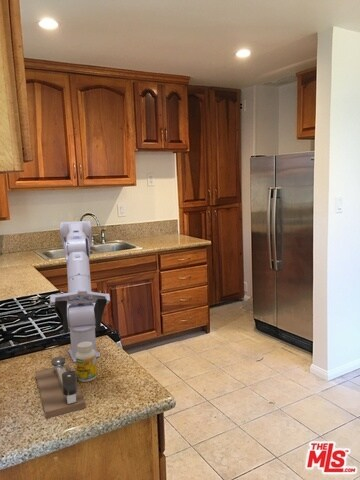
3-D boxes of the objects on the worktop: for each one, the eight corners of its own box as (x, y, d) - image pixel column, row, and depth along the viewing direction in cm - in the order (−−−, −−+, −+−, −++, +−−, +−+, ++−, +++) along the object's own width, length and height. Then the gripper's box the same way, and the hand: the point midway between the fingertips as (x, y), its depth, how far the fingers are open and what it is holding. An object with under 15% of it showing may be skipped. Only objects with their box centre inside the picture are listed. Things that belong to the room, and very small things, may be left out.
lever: (51, 368, 109) (49, 346, 108) (64, 365, 110) (63, 343, 109) (64, 405, 91) (62, 378, 90) (79, 401, 92) (77, 375, 91)
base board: (35, 376, 108) (35, 371, 108) (68, 369, 112) (68, 364, 112) (45, 418, 89) (45, 412, 88) (85, 407, 92) (85, 401, 92)
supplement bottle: (100, 373, 109) (98, 340, 108) (92, 383, 104) (90, 348, 102) (81, 372, 110) (79, 339, 109) (73, 381, 105) (71, 347, 103)
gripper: (51, 273, 95) (53, 326, 88) (110, 273, 101) (116, 323, 94) (48, 285, 100) (49, 337, 94) (104, 285, 106) (109, 333, 100)
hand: (82, 331), depth 94 cm, fingers open, 7 cm apart
